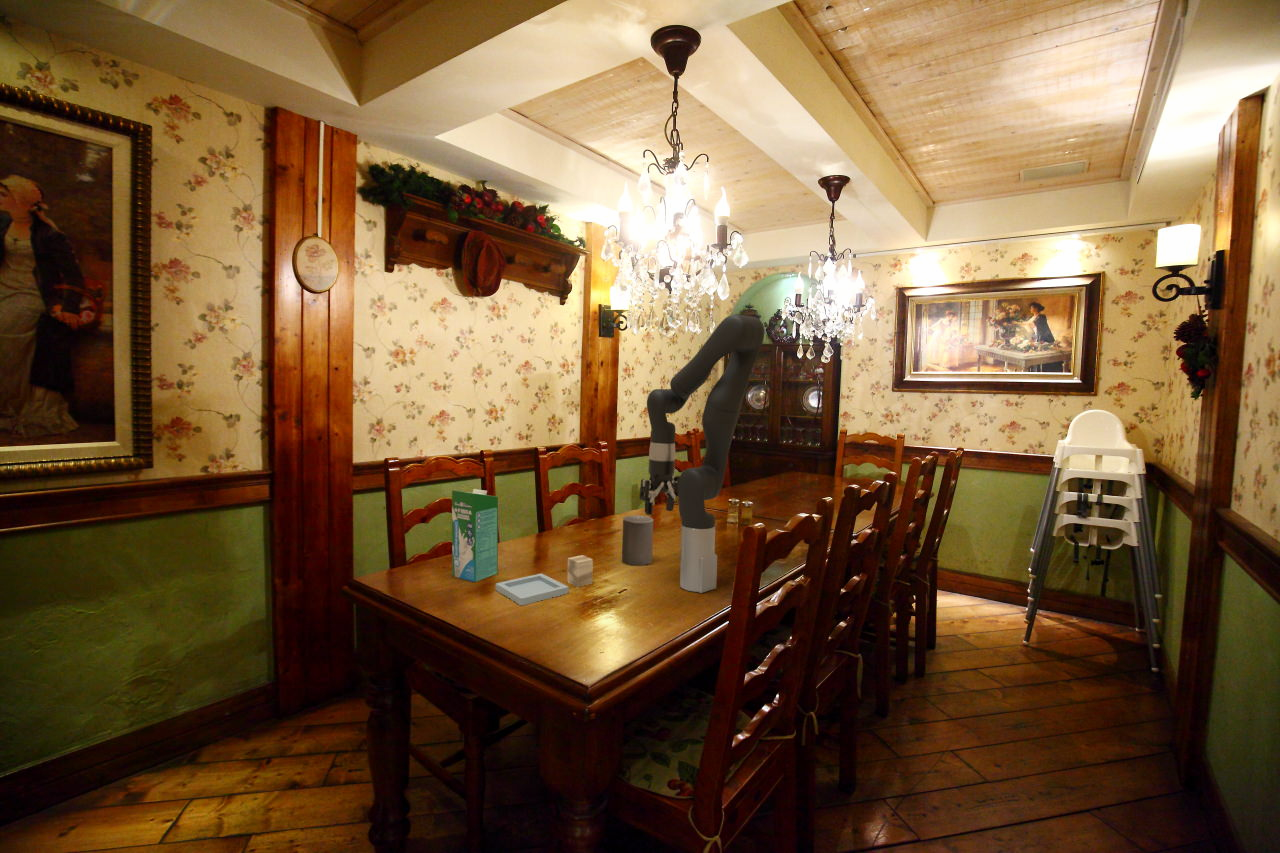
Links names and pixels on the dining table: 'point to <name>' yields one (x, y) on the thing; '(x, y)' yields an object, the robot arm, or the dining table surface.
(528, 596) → the tray
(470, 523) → the milk carton
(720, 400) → the robot arm
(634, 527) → the pillar candle
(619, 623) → the dining table surface
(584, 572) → the maple block
